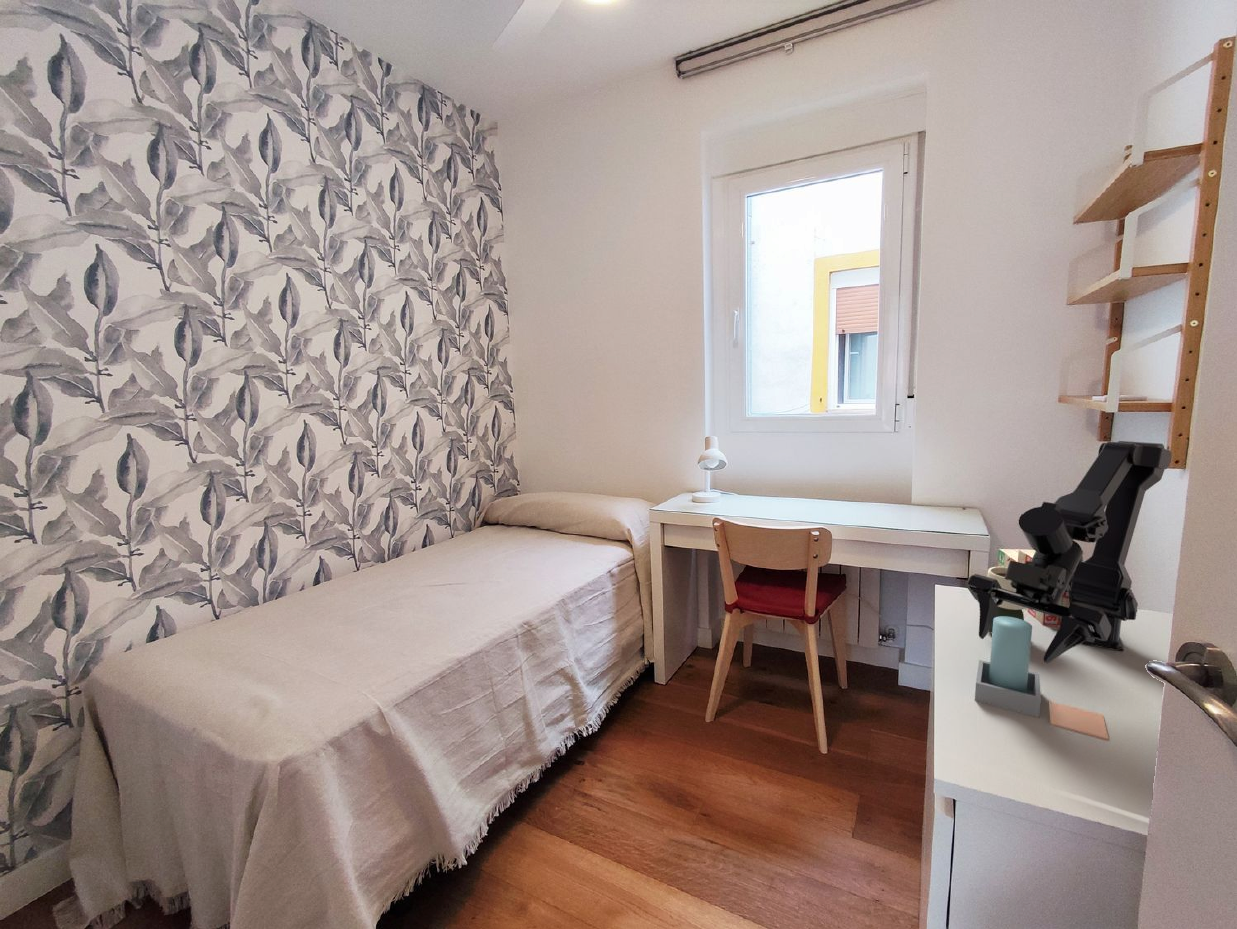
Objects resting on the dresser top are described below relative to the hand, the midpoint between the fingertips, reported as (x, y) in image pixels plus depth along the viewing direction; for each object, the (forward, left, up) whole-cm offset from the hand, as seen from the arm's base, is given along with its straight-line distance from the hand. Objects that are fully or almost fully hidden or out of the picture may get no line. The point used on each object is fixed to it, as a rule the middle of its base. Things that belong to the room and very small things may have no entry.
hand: (1011, 648), depth 86 cm
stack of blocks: (-44, +4, -9) cm, 45 cm away
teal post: (0, 0, -8) cm, 8 cm away
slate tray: (0, 0, -8) cm, 8 cm away
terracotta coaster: (+2, +8, -8) cm, 12 cm away
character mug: (-24, -1, -9) cm, 26 cm away
